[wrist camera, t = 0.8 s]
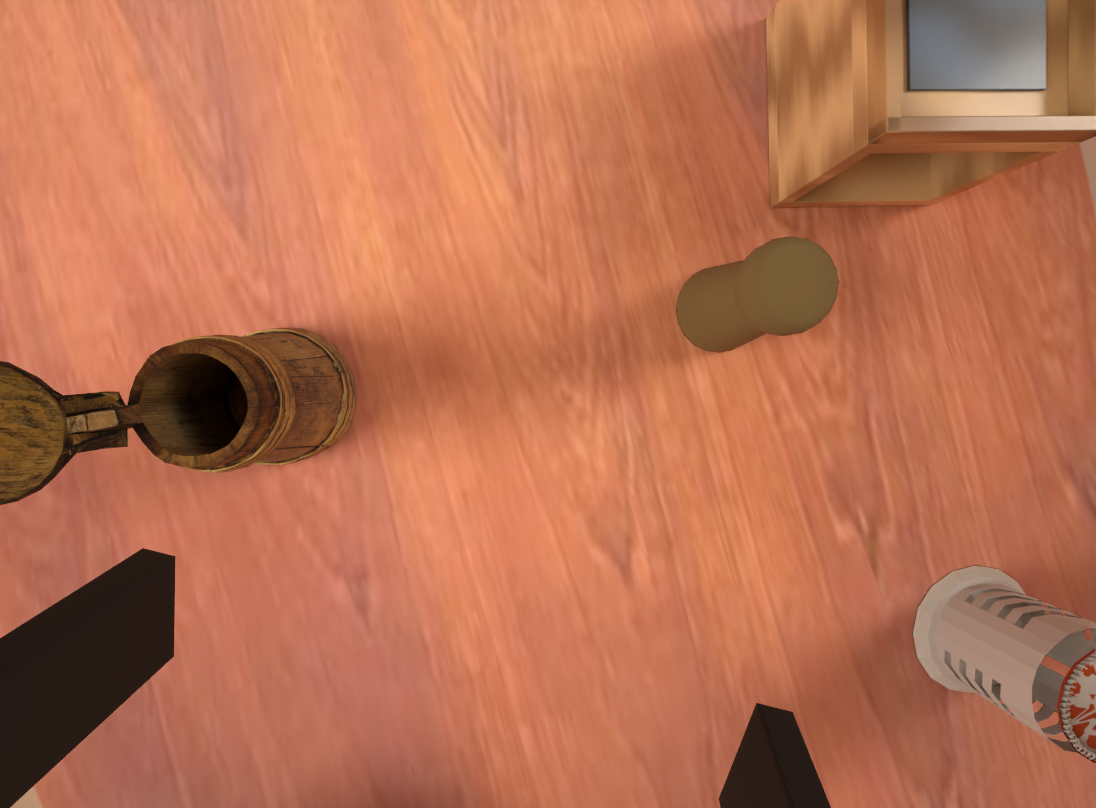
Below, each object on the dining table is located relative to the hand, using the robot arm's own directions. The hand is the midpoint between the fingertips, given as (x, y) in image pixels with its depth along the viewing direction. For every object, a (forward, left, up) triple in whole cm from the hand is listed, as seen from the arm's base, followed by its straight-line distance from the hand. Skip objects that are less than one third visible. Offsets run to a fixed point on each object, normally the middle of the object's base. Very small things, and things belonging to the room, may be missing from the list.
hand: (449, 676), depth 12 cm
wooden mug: (-6, -15, -26) cm, 31 cm away
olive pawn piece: (-11, +17, -26) cm, 33 cm away
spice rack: (-24, +27, -26) cm, 45 cm away
